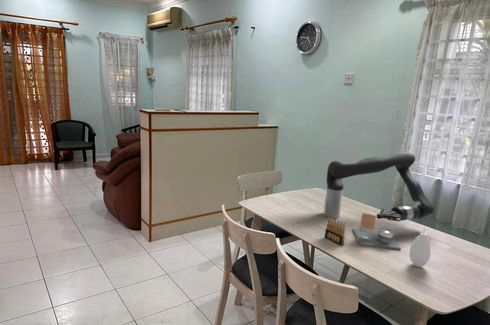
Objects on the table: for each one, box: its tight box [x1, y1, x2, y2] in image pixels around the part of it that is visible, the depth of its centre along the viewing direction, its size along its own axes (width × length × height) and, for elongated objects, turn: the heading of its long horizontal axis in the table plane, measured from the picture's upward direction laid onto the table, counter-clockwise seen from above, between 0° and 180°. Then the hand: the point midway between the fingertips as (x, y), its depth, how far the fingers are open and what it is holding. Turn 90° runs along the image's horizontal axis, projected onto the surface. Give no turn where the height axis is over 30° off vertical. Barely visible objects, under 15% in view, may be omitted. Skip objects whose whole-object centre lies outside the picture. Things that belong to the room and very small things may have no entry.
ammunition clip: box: [323, 216, 346, 247], centre depth 162 cm, size 11×2×12 cm, turn 37°
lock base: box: [352, 228, 402, 251], centre depth 168 cm, size 19×18×4 cm
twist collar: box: [359, 212, 394, 239], centre depth 164 cm, size 16×7×10 cm, turn 63°
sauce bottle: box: [409, 228, 432, 268], centre depth 143 cm, size 8×8×18 cm
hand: (377, 216), depth 168 cm, fingers closed
